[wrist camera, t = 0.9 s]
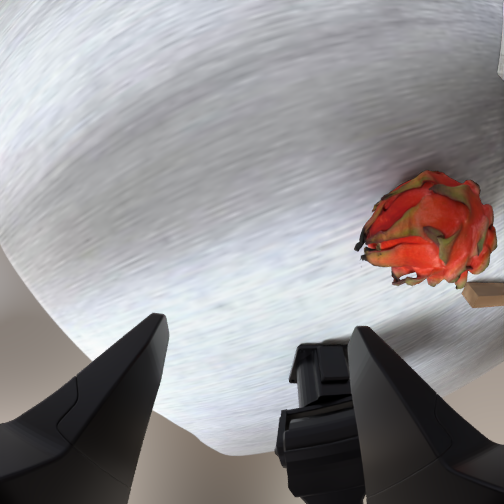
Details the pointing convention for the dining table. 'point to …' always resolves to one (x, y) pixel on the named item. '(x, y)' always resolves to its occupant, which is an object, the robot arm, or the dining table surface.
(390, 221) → the dragon fruit
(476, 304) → the frame
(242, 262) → the dining table surface
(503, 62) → the light bulb box
